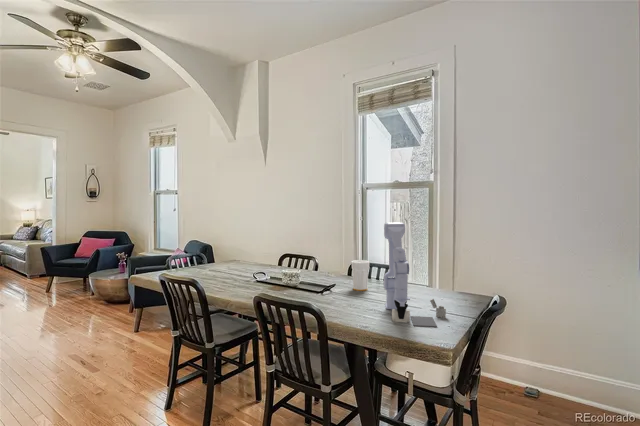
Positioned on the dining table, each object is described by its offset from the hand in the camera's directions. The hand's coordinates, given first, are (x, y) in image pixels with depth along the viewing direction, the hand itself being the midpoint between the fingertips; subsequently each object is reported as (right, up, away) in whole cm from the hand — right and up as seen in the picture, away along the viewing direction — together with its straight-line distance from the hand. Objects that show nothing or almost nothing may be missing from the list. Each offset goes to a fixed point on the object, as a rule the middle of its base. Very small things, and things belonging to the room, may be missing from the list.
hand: (400, 317), depth 159 cm
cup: (-12, 0, +57) cm, 59 cm away
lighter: (+19, -2, +6) cm, 20 cm away
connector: (0, -2, 0) cm, 2 cm away
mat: (+10, -2, -1) cm, 10 cm away
